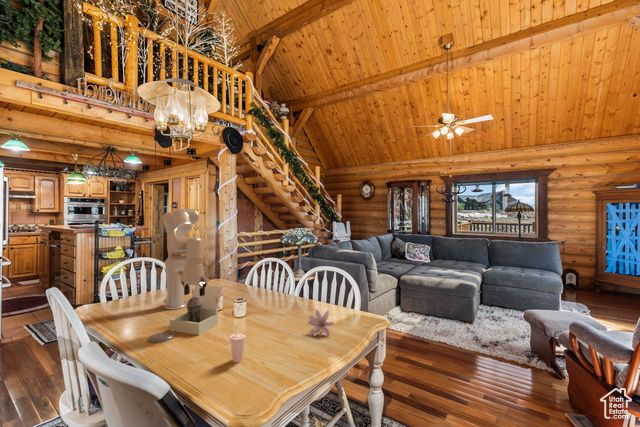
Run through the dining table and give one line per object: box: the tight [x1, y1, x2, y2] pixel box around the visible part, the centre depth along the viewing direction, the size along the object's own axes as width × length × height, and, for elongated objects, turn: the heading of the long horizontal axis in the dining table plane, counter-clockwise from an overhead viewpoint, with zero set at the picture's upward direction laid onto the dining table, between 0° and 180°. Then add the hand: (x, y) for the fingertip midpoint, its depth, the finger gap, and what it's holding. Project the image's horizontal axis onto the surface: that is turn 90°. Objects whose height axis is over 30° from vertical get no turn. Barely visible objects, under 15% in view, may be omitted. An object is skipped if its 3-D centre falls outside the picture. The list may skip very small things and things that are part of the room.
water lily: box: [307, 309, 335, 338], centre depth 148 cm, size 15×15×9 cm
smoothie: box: [229, 324, 247, 363], centre depth 120 cm, size 6×6×14 cm
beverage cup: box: [186, 289, 202, 323], centre depth 154 cm, size 7×7×20 cm
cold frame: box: [169, 285, 224, 336], centre depth 156 cm, size 18×19×19 cm
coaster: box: [148, 331, 175, 344], centre depth 142 cm, size 11×11×1 cm
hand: (194, 295), depth 154 cm, fingers open, 9 cm apart
